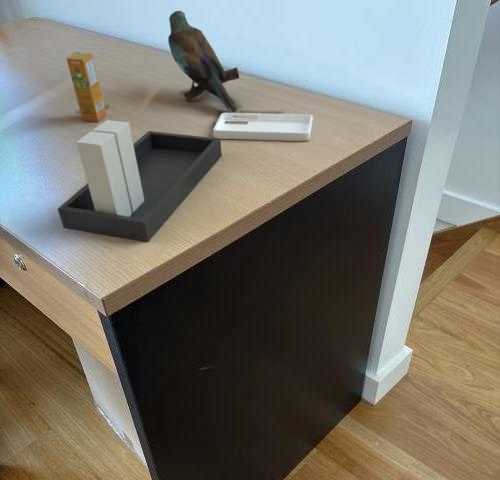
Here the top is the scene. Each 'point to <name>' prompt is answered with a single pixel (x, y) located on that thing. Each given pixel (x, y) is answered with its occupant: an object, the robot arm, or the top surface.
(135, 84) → the top surface
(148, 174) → the tray
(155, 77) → the top surface
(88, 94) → the supplement box
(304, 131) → the phone case
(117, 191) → the white boxes
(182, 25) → the bird figurine
